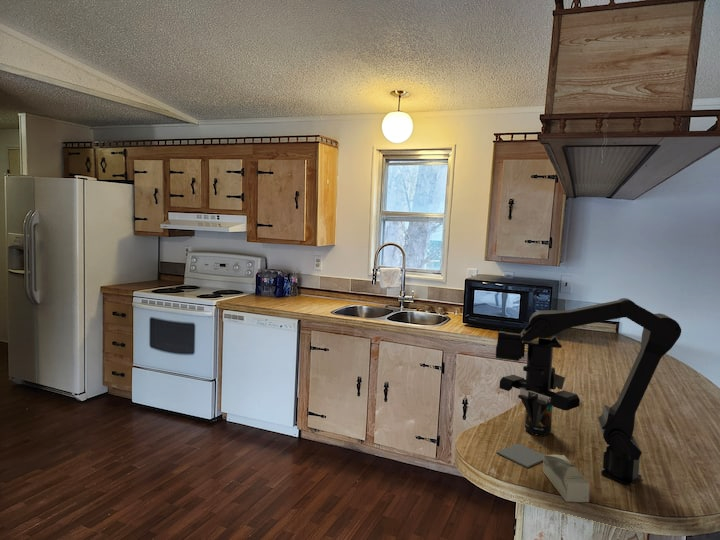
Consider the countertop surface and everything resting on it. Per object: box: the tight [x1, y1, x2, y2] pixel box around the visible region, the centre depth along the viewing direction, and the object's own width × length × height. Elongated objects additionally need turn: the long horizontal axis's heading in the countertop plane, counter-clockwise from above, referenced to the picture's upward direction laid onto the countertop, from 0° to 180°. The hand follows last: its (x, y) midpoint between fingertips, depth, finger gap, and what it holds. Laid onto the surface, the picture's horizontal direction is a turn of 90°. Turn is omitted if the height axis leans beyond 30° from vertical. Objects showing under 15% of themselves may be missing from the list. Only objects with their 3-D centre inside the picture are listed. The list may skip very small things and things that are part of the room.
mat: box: [496, 443, 545, 469], centre depth 120 cm, size 9×9×1 cm
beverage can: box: [524, 392, 554, 436], centre depth 136 cm, size 7×7×12 cm
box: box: [542, 454, 591, 503], centre depth 106 cm, size 5×4×13 cm
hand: (535, 425), depth 117 cm, fingers closed
